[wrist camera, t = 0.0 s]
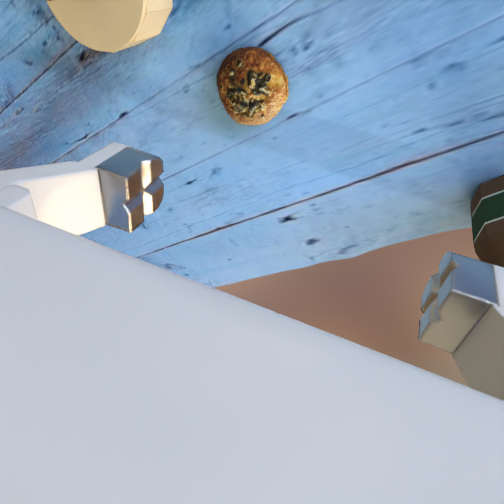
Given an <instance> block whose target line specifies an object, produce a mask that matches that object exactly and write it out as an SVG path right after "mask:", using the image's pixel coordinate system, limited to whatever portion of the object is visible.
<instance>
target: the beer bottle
mask: <svg viewBox="0 0 504 504" xmlns="http://www.w3.org/2000/svg"><path fill="white" fill-rule="evenodd" d="M471 219H472V232H473V244H474V248H475V252H476V254H477V256H478V258H479V259H480V261H483V262H486V263H489V264H493V265H497V266H500V267H504V175H503V176H500V177H498V178H495V179H493V180H490V181H487V182H485V183H482V184H480V186H479V188H478V190H477V192H476V194H475V196H474V197H473V199H472V201H471Z"/></svg>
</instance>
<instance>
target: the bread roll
mask: <svg viewBox="0 0 504 504" xmlns="http://www.w3.org/2000/svg"><path fill="white" fill-rule="evenodd" d="M217 86H218V91H219V95H220V98H221V101H222V103H223V105H224V107H225V110H226V111H227V113H228V114H229V115H230V116H231V118H232V119H234V120H235V121H236V122H237V123H239V124H244V125H246V124H247V125H259V124H265V123H267V122H268V121H270V120H271V119H272V118H273V117H275V116H276V115H277V113H278V112H279V111H280V109H281V108H282V105H283V104H284V103H285V102H286V101H287V98H288V94H289V92H288V78H287V76H286V75H285V73H284V71H283V69H282V67H281V65H280V64H279V63H278V62H277V61H276V59H275V58H274V57H273V55H272V54H270V53H269V52H267V51H265V50H264V49H262V48H258V47H245V48H239V49H237V50H235V51H233V52H232V53H230V54H229V55H227V56H226V58H225V59H224V61H223V62H222V64H221V66H220V69H219V72H218V74H217Z"/></svg>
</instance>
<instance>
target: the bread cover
mask: <svg viewBox="0 0 504 504" xmlns="http://www.w3.org/2000/svg"><path fill="white" fill-rule="evenodd" d="M46 1H47V3H48V5H49V7H50V9H51V10H52V12H53V14H54V15H55V17H56V18H57V20H58V21H59V23H60V24H61V25H62V26H63V27H64V29H65V30H66V31H67V32H68V33H69V34H70V35H71V36H72V37H74V38H75V39H76V40H77V41H79V42H80V43H82V44H83V45H85V46H87V47H89V48H91V49H94V50H98V51H106V52H112V53H113V52H116V51H119V50H123V49H126V48H129V47H132V46H135V45H138V44H140V43H142V42H144V41H146V40H148V39H150V38H152V37H155V36H157V35H159V34H160V32H161V30H162V28H163V26H164V24H165V22H166V20H167V18H168V16H169V14H170V12H171V10H172V8H173V0H46Z"/></svg>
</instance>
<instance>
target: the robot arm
mask: <svg viewBox="0 0 504 504" xmlns="http://www.w3.org/2000/svg"><path fill="white" fill-rule="evenodd" d="M162 173H163V161H162V160H161V158H160V157H158V156H155V155H152V154H149V153H146V152H143V151H140V150H138V149H135V148H132V147H129V146H126V145H123V144H120V143H115V142H112V143H110V144H108V145H107V146H105V147H103V148H101V149H100V150H98V151H96V152H94V153H93V154H91V155H89V156H88V157H86V158H84V159H82V160H81V161H79V162H75V161H68V162H61V163H54V164H46V165H39V166H32V167H24V168H17V169H10V170H2V171H0V504H504V267H500V266H497V265H493V264H489V263H486V262H483V261H479V260H476V259H473V258H469V257H466V256H462V255H459V254H456V253H452V252H449V251H448V252H447V253H446V254H445V255H444V257H443V258H442V260H441V261H440V263H439V273H437V274H435V275H433V276H432V277H431V278H430V280H429V282H428V284H427V286H426V288H425V291H424V293H423V296H422V301H421V311H422V312H423V313H424V315H423V316H422V318H421V320H420V321H419V336H418V340H419V341H421V342H424V343H426V344H429V345H431V346H433V347H436V348H439V349H441V350H443V351H446V352H449V353H451V354H453V355H452V356H453V358H454V360H455V362H456V364H457V366H458V368H459V369H460V371H461V373H462V375H463V377H464V378H465V380H466V382H467V384H468V386H469V387H467V386H464V385H462V384H459V383H457V382H454V381H452V380H449V379H446V378H444V377H441V376H439V375H436V374H434V373H431V372H428V371H426V370H423V369H421V368H418V367H416V366H413V365H410V364H408V363H405V362H403V361H400V360H397V359H395V358H392V357H390V356H387V355H384V354H382V353H380V352H377V351H374V350H372V349H369V348H367V347H364V346H361V345H359V344H356V343H354V342H351V341H349V340H346V339H343V338H341V337H338V336H336V335H333V334H331V333H328V332H325V331H323V330H320V329H318V328H315V327H312V326H310V325H307V324H305V323H302V322H299V321H297V320H294V319H292V318H289V317H287V316H284V315H281V314H279V313H276V312H274V311H271V310H269V309H266V308H263V307H261V306H258V305H255V304H253V303H251V302H248V301H245V300H243V299H240V298H238V297H235V296H233V295H230V294H227V293H225V292H222V291H220V290H217V289H215V288H212V287H209V286H207V285H204V284H202V283H199V282H196V281H194V280H191V279H189V278H186V277H184V276H181V275H178V274H176V273H173V272H171V271H168V270H166V269H163V268H160V267H158V266H155V265H153V264H150V263H148V262H145V261H142V260H140V259H137V258H135V257H132V256H130V255H127V254H124V253H122V252H119V251H117V250H114V249H111V248H109V247H106V246H104V245H101V244H99V243H96V242H93V241H91V240H88V239H86V238H83V237H81V236H78V235H81V234H84V233H86V232H89V231H92V230H95V229H97V228H100V227H103V226H105V224H107V225H109V226H112V227H115V228H118V229H121V230H124V231H127V232H130V233H131V232H132V231H134V230H135V229H136V228H137V227H138V226H139V225H140V224H141V223H142V222H144V215H148V214H151V213H153V212H154V211H155V210H156V209H157V208H158V207H159V205H160V203H161V201H162V199H163V193H164V185H163V183H162V181H161V179H160V178H159V176H160V175H161V174H162Z"/></svg>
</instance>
